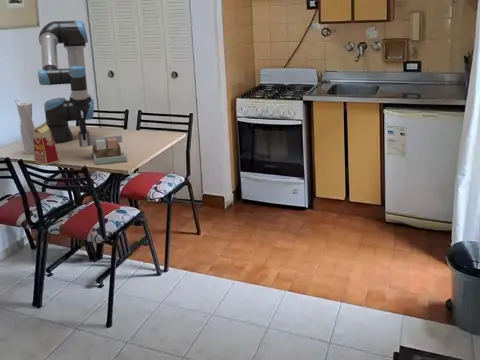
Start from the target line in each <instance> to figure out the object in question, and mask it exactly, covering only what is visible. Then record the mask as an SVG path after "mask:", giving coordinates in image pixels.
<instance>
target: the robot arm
mask: <svg viewBox="0 0 480 360" xmlns="http://www.w3.org/2000/svg"><path fill="white" fill-rule="evenodd" d="M87 34H88V33H87V31H86V26H85V23H84V22H83V20H58V21H57V20H54V21H51V22H48V23H47V24H45V25H44V26H43V27H42V28H41V30H40V32H39V35H38V43H39V44H40V48H41V67H42V69H39V70H38V71H37V75H38V77H37V79H38V83H39V85H41V86H53V85H56V86H58V85H70V93H69V94H70V95H69V96H68V97H69V98H68V99H66V98H65V97H56V98H51V99H48V100H46V101H45V102H44V104H43V106H44V115H45V122H46V125H47V126H48V127H49V129H50V132H51V134H52V136H53V139H54V142H55V144H62V143H68V142H71V141H73V140H74V134H73V133H72V131H71V129H70V126H69V122H75V121H78V122H79V123H78V124H79V130H80V131H81V133H80V134H81V139H82V147H81V148H85V147H84V146H86V147H89V146H88V142H87V131H88V129H87V123H86V121H87V120H93V118H94V112H95V99H94V98H92V95H91V94H90V93H88V83H87V82H88V81H87V74H86V64H85V53H84V49H85V47H86V46H87V43H89V39H88V35H87ZM58 44H63V48H64V49H66V51H67V61H68V68H59V61H58V50H57V49H58V48H57V45H58Z"/></svg>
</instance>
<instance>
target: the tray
mask: <svg viewBox="0 0 480 360" xmlns="http://www.w3.org/2000/svg"><path fill="white" fill-rule="evenodd" d="M92 155H93V161H94V164H95V166H97V165H107V164H109V165H110V164H117V163H126V162H127V163H128V161H127V160H128V159H127V155H126V153H125V150H122V155H121V156H114V157H104V158H96V157H95V154H92Z"/></svg>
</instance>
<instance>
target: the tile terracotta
mask: <svg viewBox="0 0 480 360" xmlns="http://www.w3.org/2000/svg"><path fill="white" fill-rule="evenodd" d="M107 147H108V149H111V148H117V140H116V138H111V139H107Z"/></svg>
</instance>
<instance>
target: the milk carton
mask: <svg viewBox="0 0 480 360" xmlns="http://www.w3.org/2000/svg"><path fill="white" fill-rule="evenodd" d="M34 128H35V131H34V142H33V143H34V153H33V156H34V157H33V159H34V163H35V164H37V165H39V166H49V165H53V164H56V163H60V158H59V154H58V150H57V149H58V148H57V145H56V143H55V142H54V139H53V136H52V134H51V132H50V129H49V127H48V126H47V124H46V121H44V122H43V123H41V124H40V125H38V126H36V127H35V126H34Z"/></svg>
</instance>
